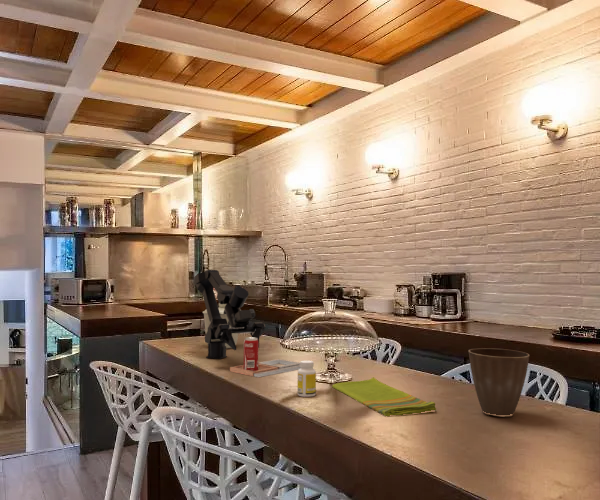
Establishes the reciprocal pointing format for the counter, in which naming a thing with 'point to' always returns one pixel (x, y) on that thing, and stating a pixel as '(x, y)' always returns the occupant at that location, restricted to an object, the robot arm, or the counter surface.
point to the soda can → (251, 354)
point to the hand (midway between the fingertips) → (247, 348)
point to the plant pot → (498, 378)
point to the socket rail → (268, 368)
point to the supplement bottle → (306, 379)
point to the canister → (223, 316)
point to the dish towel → (383, 397)
